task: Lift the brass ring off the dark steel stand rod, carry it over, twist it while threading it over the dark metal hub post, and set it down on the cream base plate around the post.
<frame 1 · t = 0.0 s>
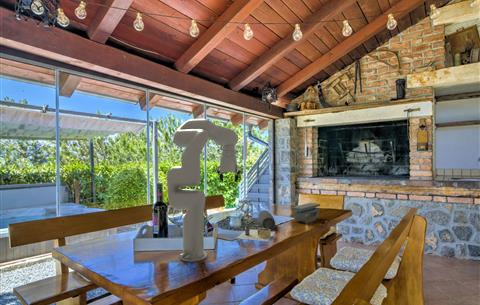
hand: (228, 181, 177), 31 cm above the table, tool pointing down, fingers open, 9 cm apart
hub post: (247, 237, 166), resting on cream base plate
brass ring: (264, 236, 162), point 1 cm above the table, touching cream base plate
bluetooth speaker: (266, 228, 187), on the table
cream base plate: (256, 237, 166), on the table
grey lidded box: (306, 221, 206), on the table
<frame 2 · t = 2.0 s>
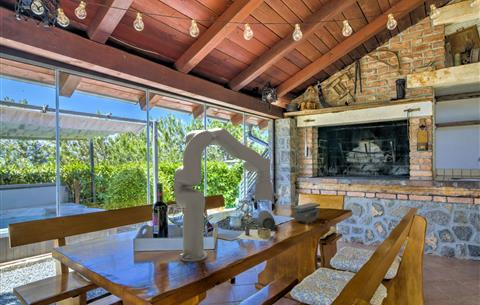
hand: (264, 210, 163), 16 cm above the table, tool pointing down, fingers open, 9 cm apart
nothing on the table moved.
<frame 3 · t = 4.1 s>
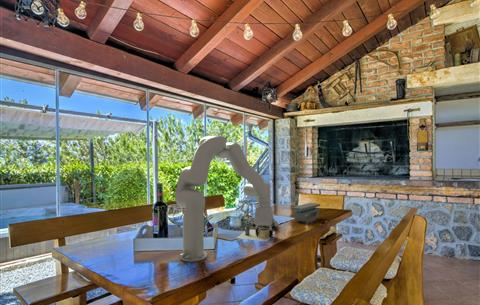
hand: (264, 236, 162), 2 cm above the table, tool pointing down, fingers closed on brass ring, cream base plate, 6 cm apart
brass ring: (264, 236, 162), point 2 cm above the table, touching gripper
everything else where it was.
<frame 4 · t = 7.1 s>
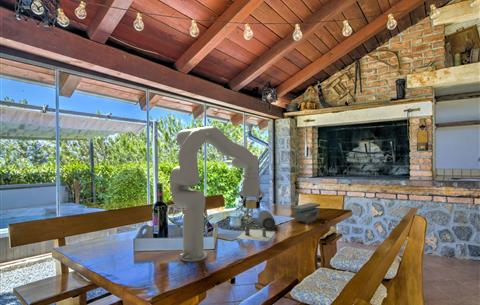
hand: (251, 207, 165), 17 cm above the table, tool pointing down, fingers closed on brass ring, 6 cm apart
brass ring: (251, 207, 165), point 17 cm above the table, touching gripper
everything else where it was.
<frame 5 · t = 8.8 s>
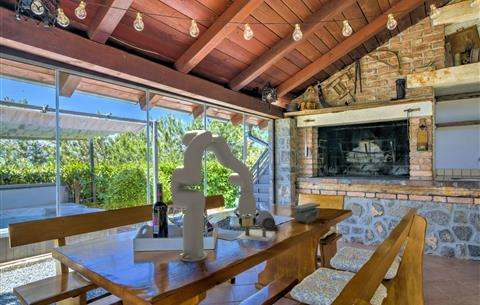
hand: (247, 224, 166), 7 cm above the table, tool pointing down, fingers closed on brass ring, 6 cm apart
brass ring: (247, 224, 166), point 7 cm above the table, touching gripper
everything else where it was.
when the fingers open (3 cm above the table, at t = 10.3 s): brass ring drops 1 cm, resting on cream base plate.
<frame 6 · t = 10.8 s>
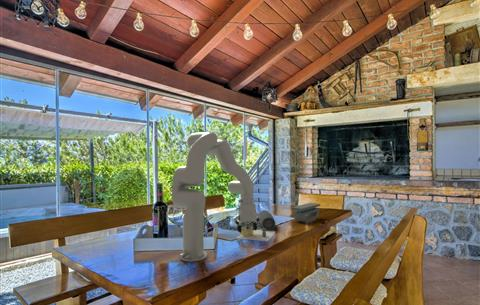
hand: (247, 231, 166), 4 cm above the table, tool pointing down, fingers open, 9 cm apart
brass ring: (247, 234, 166), point 1 cm above the table, touching cream base plate
everything else where it was.
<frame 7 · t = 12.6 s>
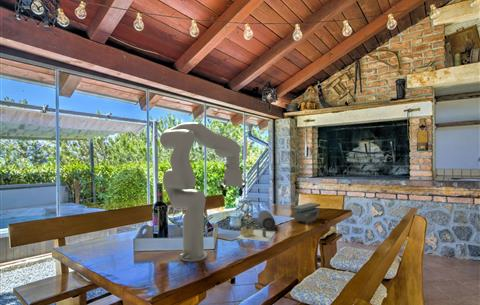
hand: (232, 196, 163), 24 cm above the table, tool pointing down, fingers open, 9 cm apart
nothing on the table moved.
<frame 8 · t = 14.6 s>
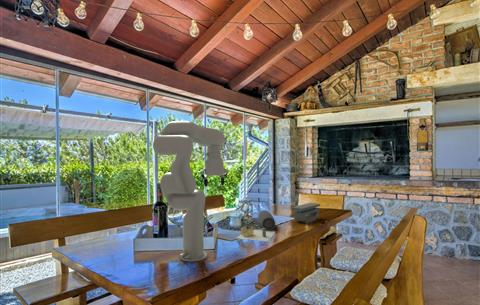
hand: (214, 185, 162), 30 cm above the table, tool pointing down, fingers open, 9 cm apart
nothing on the table moved.
at the end: brass ring 0.0 cm from the hub post (horizontally); brass ring point 1.5 cm above the table; the gripper is holding nothing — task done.
